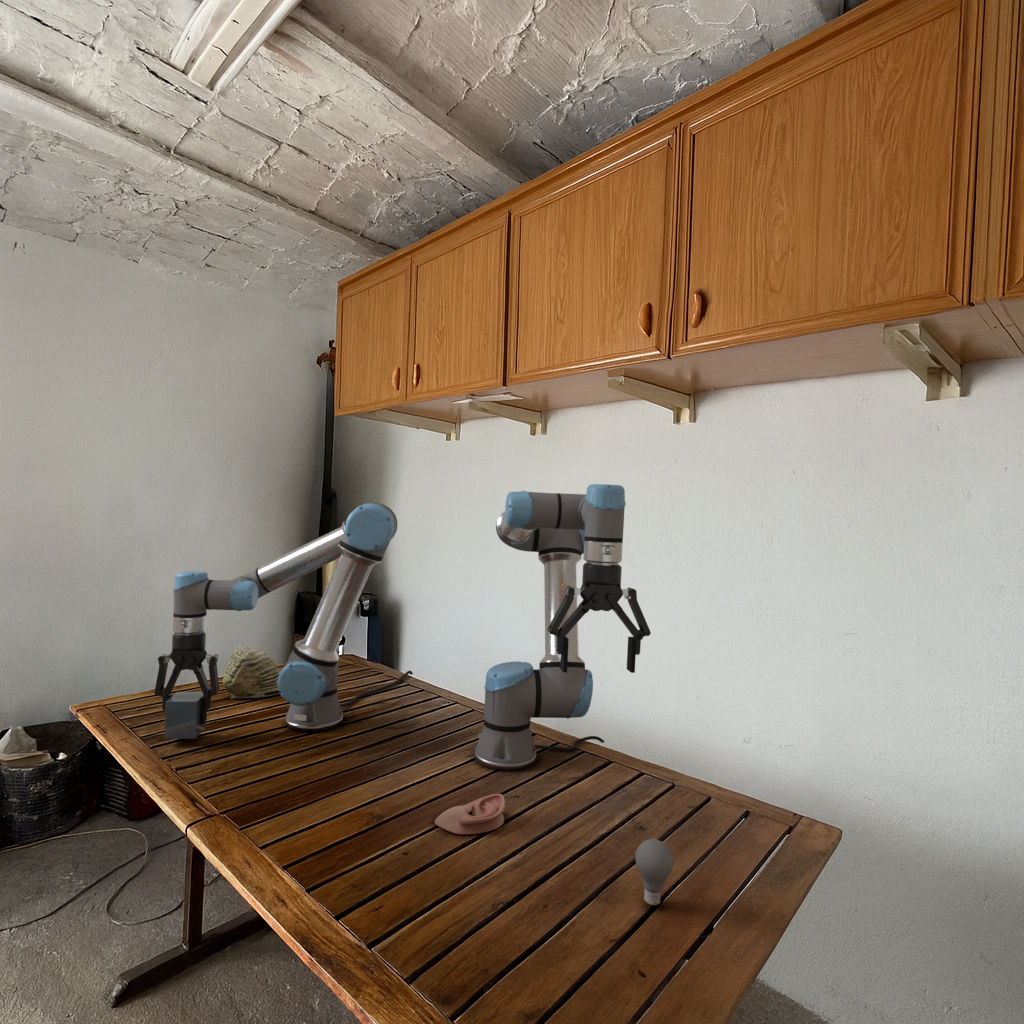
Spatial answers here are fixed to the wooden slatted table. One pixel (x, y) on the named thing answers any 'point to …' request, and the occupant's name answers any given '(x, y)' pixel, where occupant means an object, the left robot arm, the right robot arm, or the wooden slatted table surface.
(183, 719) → the brick
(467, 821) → the anatomical model
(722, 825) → the wooden slatted table surface
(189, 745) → the wooden slatted table surface
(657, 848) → the light bulb
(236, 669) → the fossil
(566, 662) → the right robot arm
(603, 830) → the wooden slatted table surface
